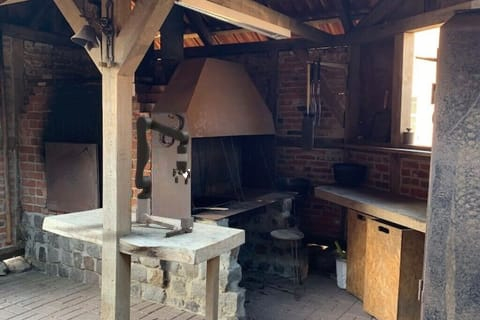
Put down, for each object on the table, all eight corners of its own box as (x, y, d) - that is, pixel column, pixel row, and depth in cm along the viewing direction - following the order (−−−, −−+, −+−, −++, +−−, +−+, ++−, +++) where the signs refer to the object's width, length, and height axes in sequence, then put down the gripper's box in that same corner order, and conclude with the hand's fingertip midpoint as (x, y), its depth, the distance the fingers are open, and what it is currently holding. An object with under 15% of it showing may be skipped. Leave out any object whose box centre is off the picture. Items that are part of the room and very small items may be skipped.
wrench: (176, 234, 296) (139, 224, 307) (177, 233, 297) (140, 223, 309) (177, 222, 295) (140, 213, 306) (178, 222, 297) (142, 212, 308)
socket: (180, 227, 290) (180, 217, 290) (186, 225, 295) (186, 216, 294) (187, 228, 287) (187, 218, 286) (193, 227, 292) (193, 217, 291)
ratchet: (163, 236, 278) (163, 224, 277) (186, 230, 296) (186, 218, 295) (171, 237, 274) (171, 225, 273) (194, 231, 292) (194, 220, 291)
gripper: (170, 159, 302) (169, 183, 304) (186, 161, 294) (185, 185, 296) (177, 159, 309) (177, 182, 310) (193, 160, 301) (192, 184, 302)
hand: (181, 183), depth 303 cm, fingers open, 8 cm apart
